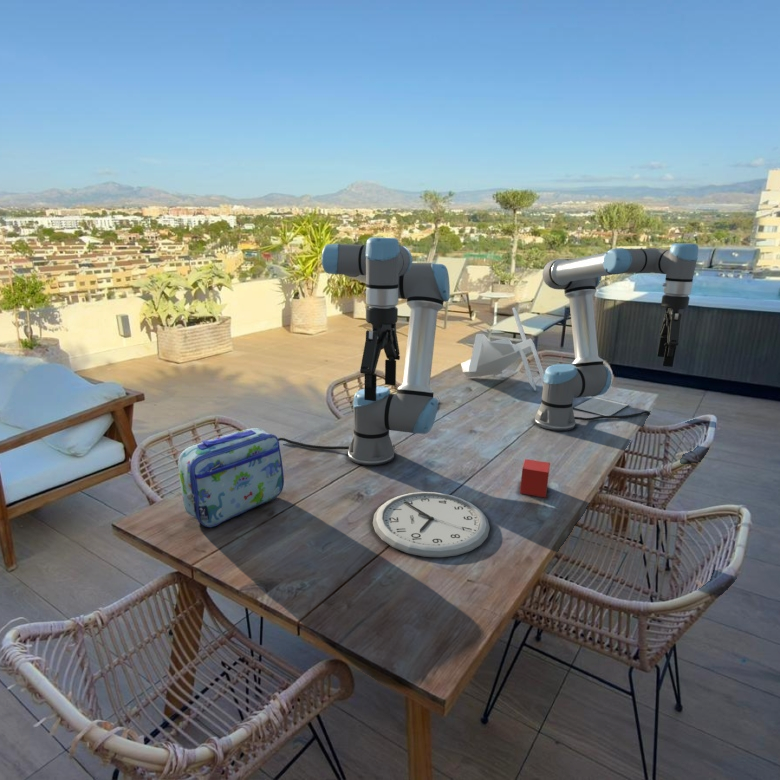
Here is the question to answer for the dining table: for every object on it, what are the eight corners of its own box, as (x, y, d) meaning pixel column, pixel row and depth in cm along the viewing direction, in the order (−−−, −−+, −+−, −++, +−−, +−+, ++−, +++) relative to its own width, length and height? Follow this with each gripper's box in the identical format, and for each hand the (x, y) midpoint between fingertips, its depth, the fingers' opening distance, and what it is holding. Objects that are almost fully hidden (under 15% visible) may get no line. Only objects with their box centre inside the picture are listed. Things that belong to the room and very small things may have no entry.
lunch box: (198, 536, 127) (190, 457, 121) (179, 518, 135) (170, 443, 128) (288, 499, 145) (285, 429, 139) (267, 486, 152) (263, 418, 146)
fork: (425, 410, 217) (425, 406, 216) (435, 399, 231) (435, 395, 231) (431, 411, 216) (431, 407, 215) (441, 400, 230) (441, 396, 230)
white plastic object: (482, 419, 265) (461, 396, 241) (463, 346, 287) (443, 319, 263) (553, 395, 253) (539, 368, 228) (528, 321, 275) (513, 290, 250)
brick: (522, 482, 157) (524, 458, 155) (547, 486, 155) (550, 462, 153) (519, 493, 151) (522, 468, 149) (545, 497, 149) (548, 472, 147)
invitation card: (608, 416, 214) (573, 407, 224) (608, 416, 214) (573, 408, 224) (628, 404, 229) (594, 396, 238) (628, 405, 229) (594, 397, 238)
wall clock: (504, 548, 122) (376, 553, 119) (504, 554, 122) (376, 559, 120) (474, 487, 150) (370, 490, 148) (473, 492, 151) (370, 495, 148)
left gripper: (385, 298, 135) (384, 377, 141) (344, 312, 113) (345, 405, 119) (413, 300, 133) (410, 380, 139) (377, 314, 110) (376, 409, 117)
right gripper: (657, 290, 175) (647, 352, 181) (668, 298, 152) (656, 369, 158) (682, 291, 172) (671, 354, 179) (697, 300, 150) (684, 371, 156)
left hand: (380, 392), depth 129 cm, fingers open, 13 cm apart
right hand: (664, 361), depth 169 cm, fingers open, 13 cm apart
